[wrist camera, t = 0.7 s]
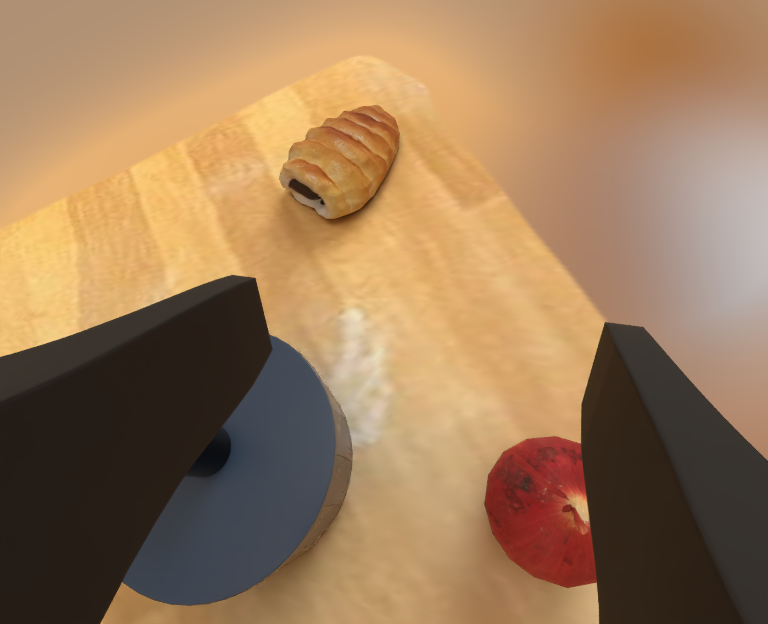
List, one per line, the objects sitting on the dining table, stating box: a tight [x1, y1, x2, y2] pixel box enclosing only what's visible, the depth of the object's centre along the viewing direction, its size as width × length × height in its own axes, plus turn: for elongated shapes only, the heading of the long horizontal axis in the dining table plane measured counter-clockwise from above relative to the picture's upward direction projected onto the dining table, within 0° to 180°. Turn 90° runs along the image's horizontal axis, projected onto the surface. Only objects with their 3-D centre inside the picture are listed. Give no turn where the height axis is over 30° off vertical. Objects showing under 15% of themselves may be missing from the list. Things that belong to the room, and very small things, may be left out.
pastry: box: [279, 105, 399, 219], centre depth 31 cm, size 9×7×4 cm
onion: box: [484, 436, 597, 588], centre depth 19 cm, size 6×6×8 cm
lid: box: [122, 335, 338, 606], centre depth 19 cm, size 12×12×5 cm
